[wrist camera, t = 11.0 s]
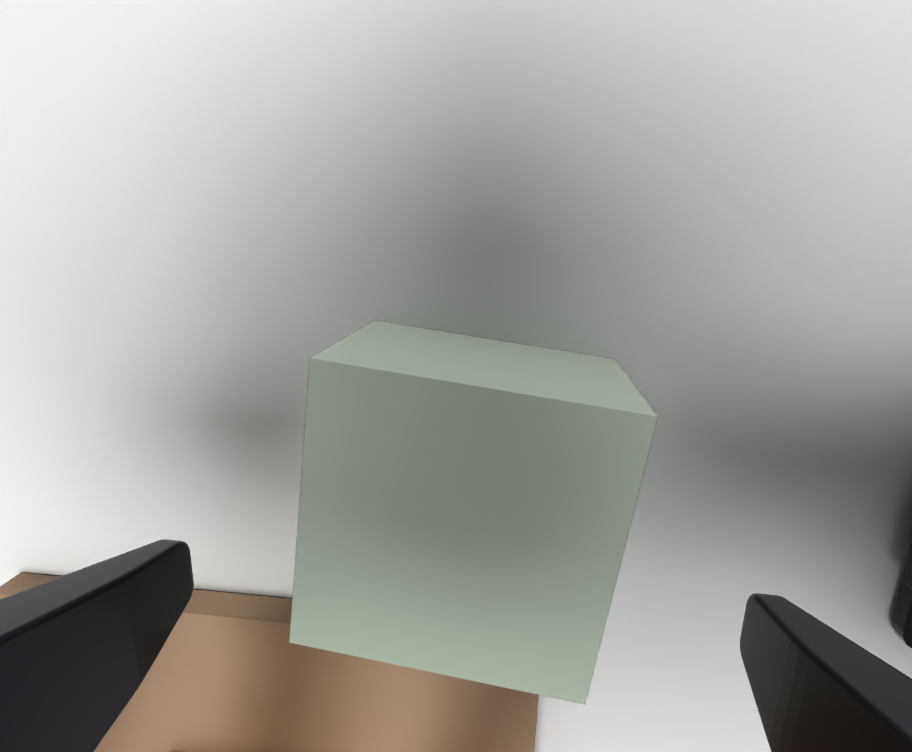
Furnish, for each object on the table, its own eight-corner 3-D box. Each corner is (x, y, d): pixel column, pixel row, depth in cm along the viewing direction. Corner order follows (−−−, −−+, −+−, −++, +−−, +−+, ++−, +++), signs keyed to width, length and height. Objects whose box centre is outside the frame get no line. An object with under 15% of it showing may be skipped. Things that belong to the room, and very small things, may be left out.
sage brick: (613, 357, 13) (657, 416, 9) (566, 568, 15) (585, 704, 11) (375, 319, 14) (309, 358, 10) (354, 528, 15) (289, 642, 11)
